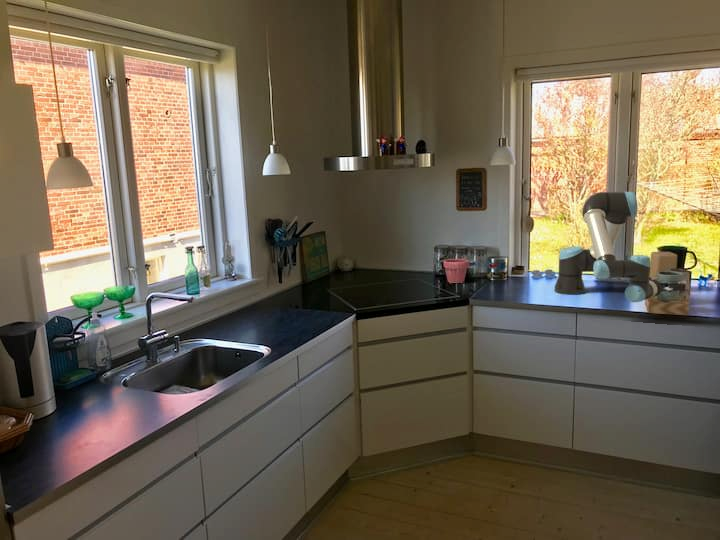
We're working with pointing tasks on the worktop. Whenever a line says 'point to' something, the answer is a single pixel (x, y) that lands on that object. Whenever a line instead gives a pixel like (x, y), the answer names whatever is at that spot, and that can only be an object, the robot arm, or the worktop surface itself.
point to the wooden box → (667, 306)
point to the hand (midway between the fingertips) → (671, 281)
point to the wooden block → (662, 262)
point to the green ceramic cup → (669, 278)
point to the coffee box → (686, 277)
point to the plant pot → (455, 270)
